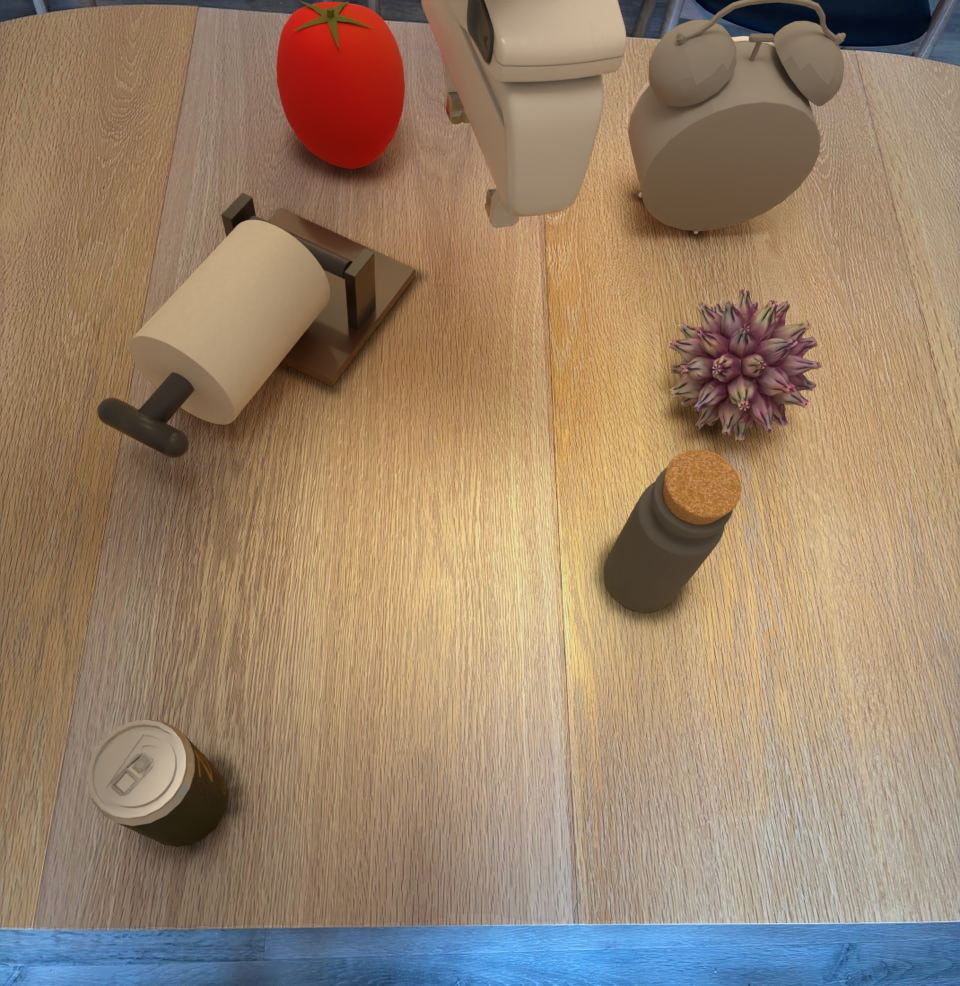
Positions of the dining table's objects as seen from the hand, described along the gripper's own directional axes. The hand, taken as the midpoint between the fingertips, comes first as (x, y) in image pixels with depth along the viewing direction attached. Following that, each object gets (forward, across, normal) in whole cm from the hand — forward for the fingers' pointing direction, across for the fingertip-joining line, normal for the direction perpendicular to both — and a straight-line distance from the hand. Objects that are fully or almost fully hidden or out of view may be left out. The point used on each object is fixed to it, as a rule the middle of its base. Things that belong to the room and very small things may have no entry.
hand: (479, 165), depth 55 cm
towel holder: (+20, -2, -17) cm, 26 cm away
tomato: (+21, -28, -3) cm, 35 cm away
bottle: (+21, +22, +9) cm, 32 cm away
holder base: (+21, -10, -10) cm, 25 cm away
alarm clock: (+20, -12, +28) cm, 36 cm away
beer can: (+22, +30, -26) cm, 45 cm away
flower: (+20, +9, +21) cm, 31 cm away
